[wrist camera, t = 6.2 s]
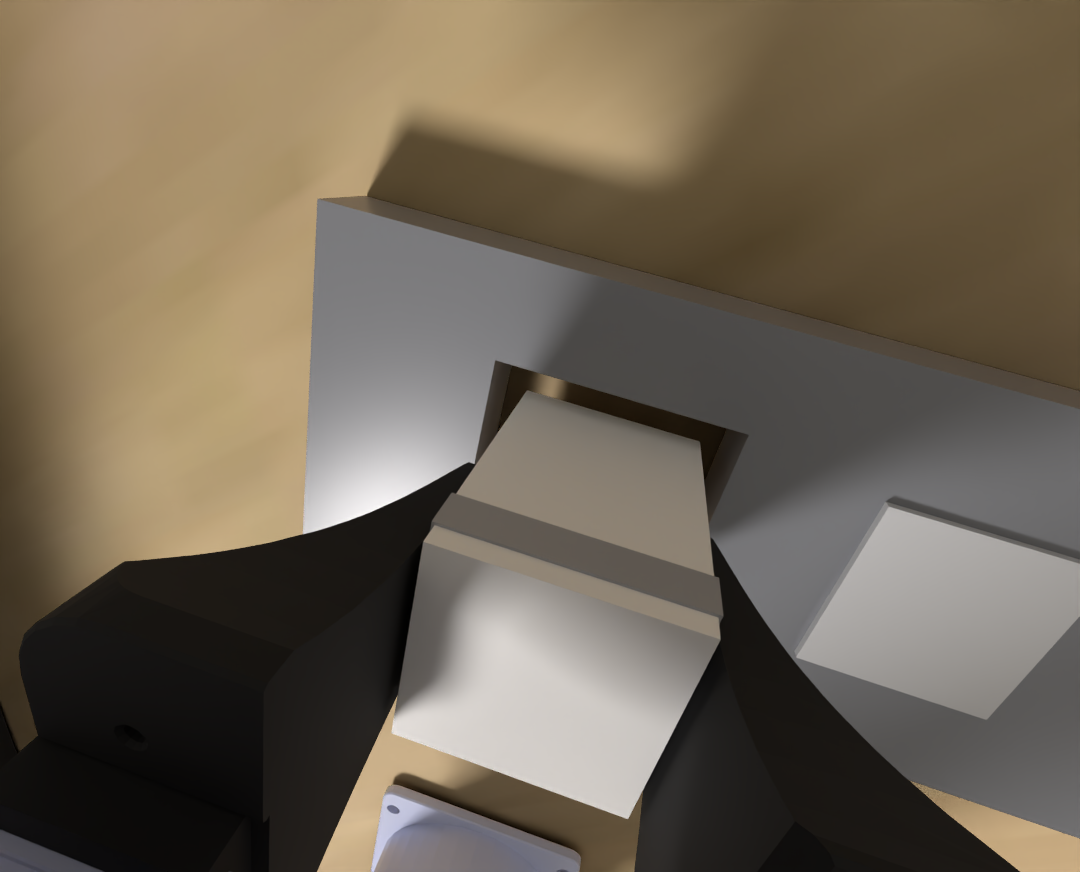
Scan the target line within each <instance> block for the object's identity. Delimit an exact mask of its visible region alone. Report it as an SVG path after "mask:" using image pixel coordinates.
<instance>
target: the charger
mask: <svg viewBox="0 0 1080 872" xmlns="http://www.w3.org/2000/svg"><path fill="white" fill-rule="evenodd" d="M722 618H723V607H722V599H721V590H720V582H719V578H718V577H715V576H714V571H713V561H712V552H711V542H710V533H709V523H708V514H707V504H706V495H705V485H704V476H703V466H702V457H701V447H700V441H696V440H693V439H689V438H686V437H683V436H679V435H676V434H673V433H669V432H666V431H663V430H659V429H656V428H653V427H649V426H646V425H643V424H639V423H636V422H632V421H629V420H626V419H622V418H619V417H616V416H612V415H609V414H606V413H602V412H599V411H596V410H592V409H589V408H585V407H582V406H579V405H575V404H572V403H569V402H565V401H562V400H559V399H555V398H552V397H549V396H545V395H542V394H538V393H535V392H532V391H528V390H527V391H526V392H525V394H524V395H523V397H522V398H521V400H520V401H519V403H518V404H517V406H516V407H515V409H514V410H513V411H512V413H511V414H510V416H509V417H508V419H507V420H506V422H505V423H504V425H503V426H502V427H501V429H500V430H499V432H498V433H497V435H496V436H495V438H494V439H493V441H492V442H491V444H490V445H489V446H488V448H487V449H486V451H485V452H484V454H483V455H482V457H481V458H480V460H479V461H478V462H477V464H476V465H475V467H474V468H473V470H472V471H471V473H470V474H469V476H468V477H467V479H466V480H465V481H464V483H463V484H462V486H461V487H460V489H459V490H458V492H457V493H456V494H455V493H451V494H450V496H449V497H448V499H447V500H446V501H445V503H444V504H443V506H442V507H441V509H440V510H439V511H438V513H437V514H436V516H435V517H434V519H433V520H432V522H431V528H430V533H429V534H428V535H427V537H426V538H425V540H424V541H423V546H422V552H421V558H420V564H419V570H418V576H417V582H416V588H415V594H414V601H413V607H412V613H411V619H410V625H409V631H408V637H407V643H406V649H405V655H404V661H403V667H402V673H401V679H400V685H399V691H398V697H397V703H396V709H395V715H394V721H393V727H392V734H395V735H398V736H401V737H403V738H406V739H409V740H412V741H414V742H417V743H420V744H423V745H425V746H428V747H431V748H434V749H436V750H439V751H442V752H445V753H447V754H450V755H453V756H456V757H458V758H461V759H464V760H467V761H469V762H472V763H475V764H478V765H480V766H483V767H486V768H489V769H491V770H494V771H497V772H500V773H502V774H505V775H508V776H511V777H513V778H516V779H519V780H522V781H524V782H527V783H530V784H533V785H535V786H538V787H541V788H544V789H546V790H549V791H552V792H555V793H557V794H560V795H563V796H566V797H568V798H571V799H574V800H577V801H579V802H582V803H585V804H587V805H590V806H593V807H596V808H598V809H601V810H604V811H607V812H609V813H612V814H615V815H618V816H620V817H623V818H626V819H628V818H629V816H630V814H631V812H632V810H633V808H634V806H635V804H636V803H637V801H638V799H639V797H640V795H641V793H642V791H643V789H644V787H645V785H646V783H647V781H648V779H649V777H650V775H651V774H652V772H653V770H654V768H655V766H656V764H657V762H658V760H659V758H660V756H661V754H662V752H663V750H664V748H665V746H666V744H667V743H668V741H669V739H670V737H671V735H672V733H673V731H674V729H675V727H676V725H677V723H678V721H679V719H680V717H681V715H682V714H683V712H684V710H685V708H686V706H687V704H688V702H689V700H690V698H691V696H692V694H693V692H694V690H695V688H696V686H697V684H698V683H699V681H700V679H701V677H702V675H703V673H704V671H705V669H706V667H707V665H708V663H709V661H710V659H711V657H712V655H713V654H714V652H715V650H716V648H717V646H718V644H719V642H720V640H721V638H720V628H719V624H720V622H721V620H722Z"/></svg>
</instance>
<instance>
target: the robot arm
mask: <svg viewBox="0 0 1080 872" xmlns="http://www.w3.org/2000/svg"><path fill="white" fill-rule="evenodd" d="M475 465H476V464H473V463H470V462H468V463H466V464H464V465H462V466H460V467H458V468H456V469H454V470H453V471H451V472H449V473H447V474H446V475H444V476H442V477H440V478H438V479H437V480H435V481H433V482H431V483H429V484H428V485H426V486H424V487H422V488H420V489H418V490H416V491H414V492H412V493H410V494H408V495H407V496H405V497H403V498H401V499H399V500H396V501H394V502H392V503H390V504H388V505H385V506H383V507H381V508H379V509H376V510H374V511H372V512H370V513H367V514H365V515H362V516H359V517H357V518H354V519H351V520H349V521H346V522H343V523H340V524H337V525H334V526H331V527H328V528H324V529H321V530H318V531H314V532H310V533H306V534H302V535H298V536H294V537H290V538H287V539H283V540H279V541H275V542H271V543H266V544H261V545H256V546H250V547H245V548H240V549H234V550H227V551H221V552H215V553H207V554H200V555H192V556H181V557H171V558H161V559H151V560H140V561H125V562H123V563H121V564H120V565H118V566H117V567H115V568H114V569H112V570H111V571H109V572H108V573H107V574H105V575H104V576H102V577H101V578H99V579H98V580H96V581H95V582H94V583H92V584H91V585H89V586H88V587H86V588H85V589H84V590H82V591H81V592H79V593H78V594H76V595H75V596H74V597H72V598H71V599H69V600H68V601H66V602H65V603H64V604H62V605H61V606H59V607H58V608H56V609H55V610H54V611H52V612H51V613H49V614H48V615H46V616H45V617H44V618H42V619H41V620H39V621H38V622H36V623H35V624H34V625H33V626H32V627H31V628H30V629H29V630H28V631H27V632H26V633H25V634H24V637H23V641H22V644H21V647H20V652H19V661H20V669H21V676H22V679H23V683H24V686H25V690H26V694H27V697H28V701H29V704H30V708H31V712H32V715H33V719H34V722H35V726H36V730H37V733H38V736H37V737H36V738H35V739H34V740H33V741H31V742H30V743H29V744H28V745H27V746H26V747H25V748H24V749H22V750H21V751H20V752H19V753H18V754H17V755H16V756H14V757H13V758H12V759H11V760H10V761H9V762H8V763H7V764H5V765H4V766H3V767H2V768H1V769H0V872H317V870H318V868H319V865H320V863H321V861H322V859H323V856H324V854H325V852H326V849H327V847H328V845H329V843H330V840H331V838H332V836H333V834H334V831H335V829H336V827H337V825H338V822H339V820H340V818H341V816H342V814H343V811H344V809H345V807H346V805H347V802H348V800H349V798H350V796H351V794H352V791H353V789H354V787H355V785H356V782H357V780H358V778H359V776H360V774H361V772H362V769H363V767H364V765H365V763H366V761H367V759H368V756H369V754H370V752H371V750H372V748H373V746H374V744H375V741H376V739H377V737H378V735H379V733H380V731H381V729H382V726H383V724H384V722H385V720H386V718H387V716H388V714H389V712H390V710H391V708H392V705H393V703H394V701H395V699H396V697H397V695H398V691H399V685H400V679H401V673H402V667H403V661H404V655H405V649H406V643H407V637H408V631H409V625H410V619H411V613H412V607H413V601H414V594H415V588H416V582H417V576H418V570H419V564H420V558H421V552H422V546H423V541H424V540H425V538H426V537H427V535H428V534H429V533H430V528H431V522H432V520H433V519H434V517H435V516H436V514H437V513H438V511H439V510H440V509H441V507H442V506H443V504H444V503H445V501H446V500H447V499H448V497H449V496H450V494H451V493H455V494H456V493H457V492H458V490H459V489H460V487H461V486H462V484H463V483H464V481H465V480H466V479H467V477H468V476H469V474H470V473H471V471H472V470H473V468H474V467H475ZM710 542H711V552H712V561H713V571H714V576H715V577H718V578H719V582H720V590H721V599H722V607H723V618H722V620H721V622H720V624H719V628H720V638H721V640H720V642H719V644H718V646H717V648H716V650H715V652H714V654H713V655H712V657H711V659H710V661H709V663H708V665H707V667H706V669H705V671H704V673H703V675H702V677H701V679H700V681H699V683H698V684H697V686H696V688H695V690H694V692H693V694H692V696H691V698H690V700H689V702H688V704H687V706H686V708H685V710H684V712H683V714H682V715H681V717H680V719H679V721H678V723H677V725H676V727H675V729H674V731H673V733H672V735H671V737H670V739H669V741H668V743H667V744H666V746H665V748H664V750H663V752H662V754H661V756H660V758H659V760H658V762H657V764H656V766H655V768H654V770H653V772H652V774H651V775H650V777H649V779H648V781H647V783H646V785H645V787H644V789H643V797H642V807H641V817H640V827H639V836H638V845H637V853H636V862H635V871H634V872H1020V871H1018V870H1017V869H1016V868H1015V867H1013V866H1012V865H1011V864H1010V863H1008V862H1007V861H1006V860H1005V859H1003V858H1002V857H1001V856H1000V855H998V854H997V853H996V852H994V851H993V850H992V849H991V848H989V847H988V846H987V845H986V844H984V843H983V842H982V841H981V840H979V839H978V838H977V837H976V836H974V835H973V834H972V833H971V832H969V831H968V830H967V829H966V828H964V827H963V826H962V825H960V824H959V823H958V822H957V821H955V820H954V819H953V818H952V817H950V816H949V815H948V814H947V813H946V812H944V811H943V810H942V809H941V808H940V807H938V806H937V805H936V804H935V803H934V802H933V801H932V800H930V799H929V798H928V797H927V796H926V795H925V794H924V793H923V792H921V791H920V790H919V789H918V788H917V787H916V786H915V785H913V784H912V783H911V782H910V781H909V780H908V779H907V778H906V777H904V776H903V775H902V774H901V773H900V772H899V771H898V770H897V769H896V768H895V767H893V766H892V765H891V764H890V763H889V762H888V761H887V760H886V759H885V758H884V757H883V756H882V755H881V754H880V753H879V752H877V751H876V750H875V749H874V748H873V747H872V746H871V745H870V744H869V743H868V742H867V741H866V740H865V739H864V738H863V737H862V736H861V735H860V734H859V733H858V732H857V731H856V730H855V729H854V728H853V727H852V725H851V724H850V723H849V722H848V721H847V720H846V719H845V718H844V717H843V716H842V715H841V714H840V713H839V712H838V711H837V710H836V709H835V708H834V707H833V706H832V705H831V703H830V702H829V701H828V700H827V699H826V698H825V697H824V696H823V695H822V693H821V692H820V691H819V690H818V689H817V688H816V686H815V685H814V684H813V683H812V682H811V681H810V679H809V678H808V677H807V676H806V675H805V674H804V672H803V671H802V670H801V669H800V668H799V666H798V665H797V664H796V663H795V661H794V660H793V659H792V658H791V656H790V655H789V654H788V652H787V651H786V650H785V648H784V647H783V646H782V644H781V643H780V642H779V640H778V639H777V638H776V636H775V635H774V633H773V632H772V631H771V629H770V628H769V627H768V625H767V624H766V622H765V621H764V619H763V618H762V616H761V615H760V614H759V612H758V611H757V609H756V608H755V606H754V605H753V603H752V601H751V600H750V598H749V597H748V595H747V594H746V592H745V590H744V589H743V587H742V586H741V584H740V582H739V581H738V579H737V578H736V576H735V574H734V573H733V571H732V569H731V568H730V566H729V564H728V563H727V561H726V559H725V558H724V556H723V554H722V553H721V551H720V549H719V548H718V546H717V544H716V543H715V541H714V540H713V538H710ZM580 863H581V857H580V855H579V854H578V853H577V852H576V851H574V850H572V849H570V848H567V847H564V846H562V845H559V844H556V843H554V842H551V841H548V840H545V839H543V838H540V837H537V836H535V835H532V834H529V833H527V832H524V831H521V830H519V829H516V828H513V827H510V826H508V825H505V824H502V823H500V822H497V821H494V820H492V819H489V818H486V817H484V816H481V815H478V814H475V813H473V812H470V811H467V810H465V809H462V808H459V807H457V806H454V805H451V804H449V803H446V802H443V801H440V800H438V799H435V798H432V797H430V796H427V795H424V794H422V793H419V792H416V791H414V790H411V789H408V788H405V787H403V786H400V785H391V786H389V787H388V788H387V790H386V792H385V794H384V796H383V802H382V808H381V814H380V820H379V825H378V831H377V837H376V843H375V849H374V855H373V861H372V867H371V872H579V870H580Z"/></svg>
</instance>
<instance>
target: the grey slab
mask: <svg viewBox="0 0 1080 872" xmlns="http://www.w3.org/2000/svg"><path fill="white" fill-rule="evenodd" d="M512 365H513V366H517V367H520V368H523V369H527V370H530V371H534V372H537V373H540V374H544V375H547V376H551V377H554V378H557V379H561V380H564V381H568V382H571V383H574V384H578V385H581V386H584V387H588V388H591V389H595V390H598V391H601V392H605V393H608V394H612V395H615V396H618V397H622V398H625V399H629V400H632V401H635V402H639V403H642V404H646V405H649V406H652V407H656V408H659V409H663V410H666V411H669V412H673V413H676V414H680V415H683V416H686V417H690V418H693V419H696V420H700V421H703V422H707V423H710V424H713V425H717V426H720V427H724V428H727V429H726V432H725V434H724V436H723V439H722V441H721V444H720V446H719V448H718V451H717V453H716V455H715V458H714V460H713V462H712V465H711V467H710V469H709V472H708V474H707V477H706V479H705V481H704V485H705V495H706V504H707V514H708V523H709V533H710V538H713V540H714V541H715V543H716V544H717V546H718V548H719V549H720V551H721V553H722V554H723V556H724V558H725V559H726V561H727V563H728V564H729V566H730V568H731V569H732V571H733V573H734V574H735V576H736V578H737V579H738V581H739V582H740V584H741V586H742V587H743V589H744V590H745V592H746V594H747V595H748V597H749V598H750V600H751V601H752V603H753V605H754V606H755V608H756V609H757V611H758V612H759V614H760V615H761V616H762V618H763V619H764V621H765V622H766V624H767V625H768V627H769V628H770V629H771V631H772V632H773V633H774V635H775V636H776V638H777V639H778V640H779V642H780V643H781V644H782V646H783V647H784V648H785V650H786V651H787V652H788V654H789V655H790V656H791V658H792V659H793V660H794V661H795V663H796V664H797V665H798V666H799V668H800V669H801V670H802V671H803V672H804V674H805V675H806V676H807V677H808V678H809V679H810V681H811V682H812V683H813V684H814V685H815V686H816V688H817V689H818V690H819V691H820V692H821V693H822V695H823V696H824V697H825V698H826V699H827V700H828V701H829V702H830V703H831V705H832V706H833V707H834V708H835V709H836V710H837V711H838V712H839V713H840V714H841V715H842V716H843V717H844V718H845V719H846V720H847V721H848V722H849V723H850V724H851V725H852V727H853V728H854V729H855V730H856V731H857V732H858V733H859V734H860V735H861V736H862V737H863V738H864V739H865V740H866V741H867V742H868V743H869V744H870V745H871V746H872V747H873V748H874V749H875V750H876V751H877V752H879V753H880V754H881V755H882V756H883V757H884V758H885V759H886V760H887V761H888V762H889V763H890V764H891V765H892V766H893V767H895V768H896V769H897V770H898V771H899V772H900V773H901V774H902V775H903V776H904V777H906V778H907V779H908V780H910V781H913V782H916V783H919V784H922V785H925V786H927V787H930V788H933V789H936V790H939V791H942V792H945V793H948V794H951V795H954V796H957V797H960V798H963V799H966V800H969V801H971V802H974V803H977V804H980V805H983V806H986V807H989V808H992V809H995V810H998V811H1001V812H1004V813H1007V814H1010V815H1012V816H1015V817H1018V818H1021V819H1024V820H1027V821H1030V822H1033V823H1036V824H1039V825H1042V826H1045V827H1048V828H1051V829H1054V830H1056V831H1059V832H1062V833H1065V834H1068V835H1071V836H1074V837H1077V838H1080V391H1077V390H1074V389H1070V388H1066V387H1063V386H1059V385H1055V384H1052V383H1048V382H1044V381H1041V380H1037V379H1033V378H1030V377H1026V376H1023V375H1019V374H1015V373H1012V372H1008V371H1004V370H1001V369H997V368H993V367H990V366H986V365H982V364H979V363H975V362H971V361H968V360H964V359H960V358H957V357H953V356H949V355H946V354H942V353H938V352H935V351H931V350H927V349H924V348H920V347H916V346H913V345H909V344H905V343H902V342H898V341H894V340H891V339H887V338H883V337H880V336H876V335H872V334H869V333H865V332H861V331H858V330H854V329H850V328H847V327H843V326H839V325H836V324H832V323H828V322H825V321H821V320H818V319H814V318H810V317H807V316H803V315H799V314H796V313H792V312H788V311H785V310H781V309H777V308H774V307H770V306H766V305H763V304H759V303H755V302H752V301H748V300H744V299H741V298H737V297H733V296H730V295H726V294H722V293H719V292H715V291H711V290H708V289H704V288H700V287H697V286H693V285H689V284H686V283H682V282H678V281H675V280H671V279H667V278H664V277H660V276H656V275H653V274H649V273H645V272H642V271H638V270H634V269H631V268H627V267H623V266H620V265H616V264H613V263H609V262H605V261H602V260H598V259H594V258H591V257H587V256H583V255H580V254H576V253H572V252H569V251H565V250H561V249H558V248H554V247H550V246H547V245H543V244H539V243H536V242H532V241H528V240H525V239H521V238H517V237H514V236H510V235H506V234H503V233H499V232H495V231H492V230H488V229H484V228H481V227H477V226H473V225H470V224H466V223H462V222H459V221H455V220H451V219H448V218H444V217H440V216H437V215H433V214H429V213H426V212H422V211H419V210H415V209H411V208H408V207H404V206H400V205H397V204H393V203H389V202H386V201H382V200H378V199H375V198H371V197H367V196H356V197H340V198H323V199H318V200H317V223H316V246H315V269H314V292H313V315H312V337H311V360H310V383H309V406H308V429H307V452H306V475H305V498H304V521H303V534H306V533H310V532H314V531H318V530H321V529H324V528H328V527H331V526H334V525H337V524H340V523H343V522H346V521H349V520H351V519H354V518H357V517H359V516H362V515H365V514H367V513H370V512H372V511H374V510H376V509H379V508H381V507H383V506H385V505H388V504H390V503H392V502H394V501H396V500H399V499H401V498H403V497H405V496H407V495H408V494H410V493H412V492H414V491H416V490H418V489H420V488H422V487H424V486H426V485H428V484H429V483H431V482H433V481H435V480H437V479H438V478H440V477H442V476H444V475H446V474H447V473H449V472H451V471H453V470H454V469H456V468H458V467H460V466H462V465H464V464H466V463H468V462H470V463H473V464H477V462H478V461H479V460H480V458H481V457H482V455H483V454H484V452H485V451H486V449H487V448H488V446H489V445H490V444H491V442H492V441H493V439H494V438H495V436H496V435H497V431H498V426H499V422H500V417H501V412H502V408H503V403H504V399H505V394H506V389H507V385H508V380H509V376H510V371H511V366H512Z"/></svg>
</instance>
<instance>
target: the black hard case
mask: <svg viewBox="0 0 1080 872" xmlns="http://www.w3.org/2000/svg"><path fill="white" fill-rule="evenodd" d="M16 755H17V752H16V749H15V747H14V744H13V741H12V739H11V736H10V734H9V731H8V728H7V726H6V723H5V720H4V718H3V715H2V712H1V710H0V769H1V768H2V767H3V766H4V765H5V764H7V763H8V762H9V761H10V760H11V759H12V758H13V757H14V756H16Z"/></svg>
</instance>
